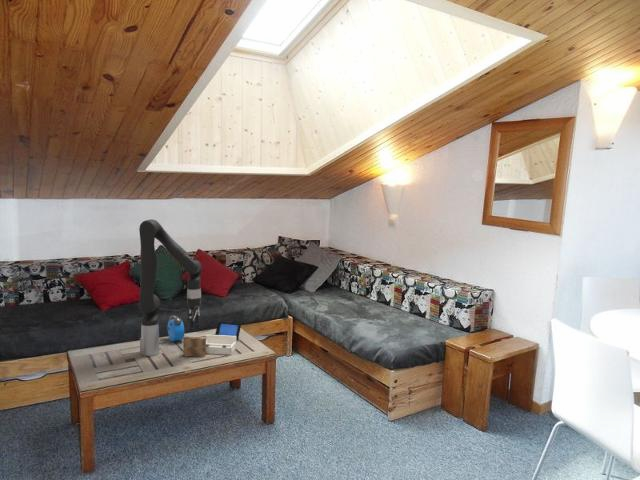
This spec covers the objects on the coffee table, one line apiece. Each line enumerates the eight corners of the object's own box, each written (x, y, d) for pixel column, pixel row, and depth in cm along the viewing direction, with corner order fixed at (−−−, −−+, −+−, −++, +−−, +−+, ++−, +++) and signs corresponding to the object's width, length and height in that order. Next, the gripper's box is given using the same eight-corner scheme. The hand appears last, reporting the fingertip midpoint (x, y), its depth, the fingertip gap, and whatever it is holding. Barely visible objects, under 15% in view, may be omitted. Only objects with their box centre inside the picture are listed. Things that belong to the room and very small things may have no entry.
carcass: (199, 353, 270) (199, 341, 270) (206, 346, 282) (206, 334, 282) (231, 354, 269) (231, 342, 268) (236, 347, 281) (236, 335, 281)
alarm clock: (184, 342, 287) (184, 318, 286) (174, 344, 284) (174, 320, 282) (177, 336, 298) (176, 313, 296) (167, 338, 294) (166, 314, 292)
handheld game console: (208, 342, 289) (208, 327, 288) (218, 335, 302) (217, 321, 301) (233, 345, 286) (233, 330, 285) (241, 338, 299) (241, 323, 298)
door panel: (183, 355, 267) (183, 338, 266) (185, 353, 269) (184, 336, 268) (204, 356, 266) (204, 339, 265) (205, 354, 269) (205, 337, 267)
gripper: (191, 293, 271) (192, 321, 273) (182, 299, 257) (183, 328, 259) (204, 293, 271) (205, 321, 273) (196, 299, 257) (197, 329, 258)
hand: (194, 325), depth 266 cm, fingers open, 8 cm apart
